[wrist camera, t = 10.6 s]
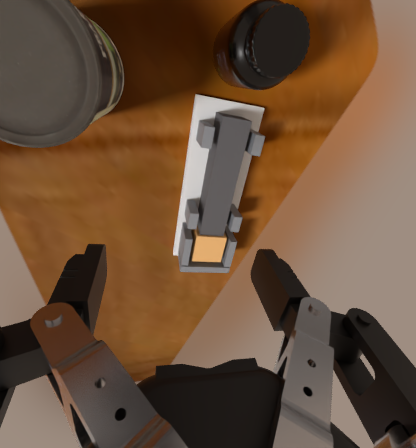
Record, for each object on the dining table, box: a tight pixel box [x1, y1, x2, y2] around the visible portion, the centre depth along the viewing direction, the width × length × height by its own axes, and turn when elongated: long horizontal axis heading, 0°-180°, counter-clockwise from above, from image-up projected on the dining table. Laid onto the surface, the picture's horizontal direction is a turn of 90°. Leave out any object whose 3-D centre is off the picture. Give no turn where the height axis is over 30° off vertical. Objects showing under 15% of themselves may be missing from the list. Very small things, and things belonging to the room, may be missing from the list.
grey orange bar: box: [191, 112, 252, 262], centre depth 35 cm, size 20×4×4 cm, turn 169°
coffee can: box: [0, 0, 124, 148], centre depth 22 cm, size 10×10×14 cm
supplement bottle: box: [213, 0, 310, 90], centre depth 24 cm, size 7×7×12 cm
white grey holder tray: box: [173, 94, 265, 273], centre depth 35 cm, size 24×9×6 cm, turn 169°
